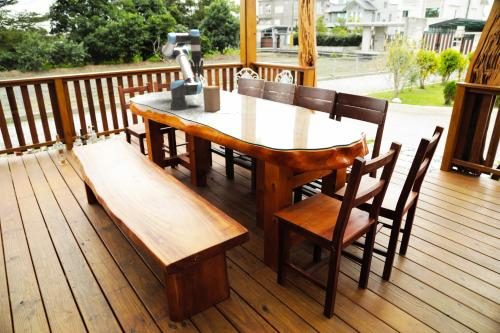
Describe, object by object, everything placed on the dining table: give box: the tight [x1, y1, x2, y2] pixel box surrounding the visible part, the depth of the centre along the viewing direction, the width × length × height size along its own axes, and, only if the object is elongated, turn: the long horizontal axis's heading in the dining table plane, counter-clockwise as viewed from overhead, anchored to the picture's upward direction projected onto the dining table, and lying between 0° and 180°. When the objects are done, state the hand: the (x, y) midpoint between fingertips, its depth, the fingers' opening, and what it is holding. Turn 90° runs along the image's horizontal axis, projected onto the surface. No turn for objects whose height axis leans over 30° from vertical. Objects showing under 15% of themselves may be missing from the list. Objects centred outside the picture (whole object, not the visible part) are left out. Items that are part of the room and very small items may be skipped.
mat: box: [215, 108, 241, 115], centre depth 269 cm, size 16×14×1 cm
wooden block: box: [202, 85, 221, 113], centre depth 270 cm, size 10×10×20 cm
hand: (197, 81), depth 268 cm, fingers closed
